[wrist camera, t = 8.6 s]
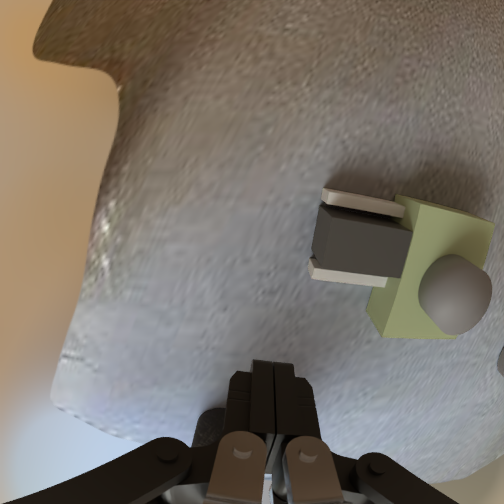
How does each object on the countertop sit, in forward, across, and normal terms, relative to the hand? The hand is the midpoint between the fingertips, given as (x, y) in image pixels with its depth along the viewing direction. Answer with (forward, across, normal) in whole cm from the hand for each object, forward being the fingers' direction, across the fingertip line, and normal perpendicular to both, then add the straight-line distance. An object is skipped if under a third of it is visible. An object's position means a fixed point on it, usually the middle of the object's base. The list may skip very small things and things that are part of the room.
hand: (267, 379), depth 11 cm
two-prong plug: (+18, -12, 0) cm, 22 cm away
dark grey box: (+18, -8, -2) cm, 20 cm away
